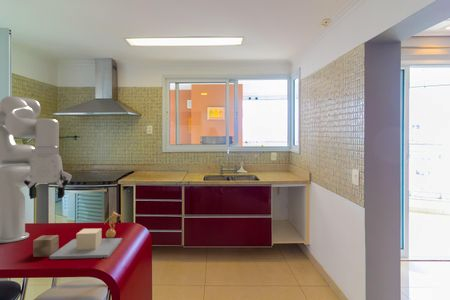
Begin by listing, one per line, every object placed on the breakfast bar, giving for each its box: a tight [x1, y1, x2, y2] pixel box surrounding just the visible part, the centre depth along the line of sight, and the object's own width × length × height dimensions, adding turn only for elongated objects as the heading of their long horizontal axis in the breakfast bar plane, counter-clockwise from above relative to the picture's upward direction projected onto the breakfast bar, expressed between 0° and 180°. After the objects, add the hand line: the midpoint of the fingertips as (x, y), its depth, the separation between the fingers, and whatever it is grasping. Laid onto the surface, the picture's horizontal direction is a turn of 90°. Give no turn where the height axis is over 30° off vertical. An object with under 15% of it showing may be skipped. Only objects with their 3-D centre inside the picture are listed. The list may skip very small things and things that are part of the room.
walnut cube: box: [32, 234, 60, 258], centre depth 109 cm, size 6×6×6 cm
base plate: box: [49, 227, 123, 260], centre depth 114 cm, size 20×20×7 cm
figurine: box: [104, 210, 122, 238], centre depth 127 cm, size 8×6×12 cm
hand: (47, 198), depth 108 cm, fingers open, 9 cm apart
